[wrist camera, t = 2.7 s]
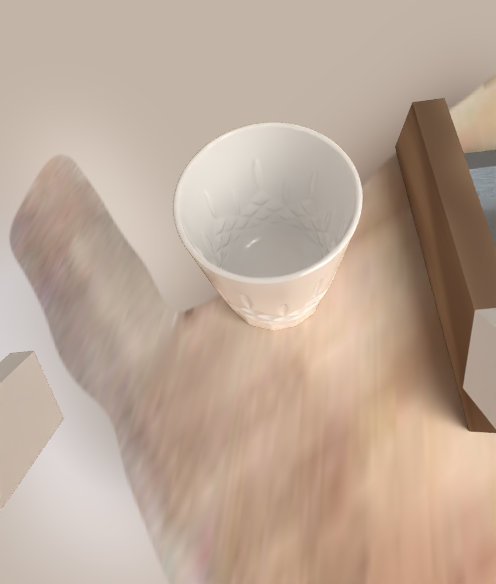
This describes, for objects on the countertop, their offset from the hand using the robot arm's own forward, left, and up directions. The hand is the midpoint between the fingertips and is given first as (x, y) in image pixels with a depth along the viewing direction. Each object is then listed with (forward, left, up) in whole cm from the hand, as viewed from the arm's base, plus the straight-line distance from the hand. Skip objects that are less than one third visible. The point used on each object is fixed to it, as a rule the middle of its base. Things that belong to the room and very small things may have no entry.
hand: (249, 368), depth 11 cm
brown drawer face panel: (-12, -7, -11) cm, 18 cm away
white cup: (-1, -7, -12) cm, 14 cm away
